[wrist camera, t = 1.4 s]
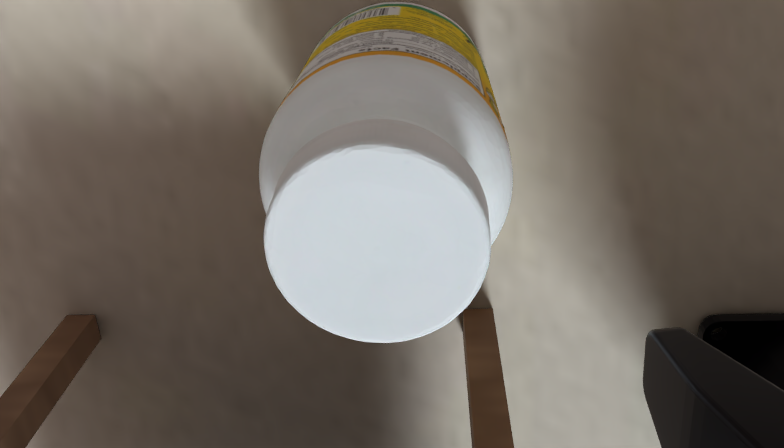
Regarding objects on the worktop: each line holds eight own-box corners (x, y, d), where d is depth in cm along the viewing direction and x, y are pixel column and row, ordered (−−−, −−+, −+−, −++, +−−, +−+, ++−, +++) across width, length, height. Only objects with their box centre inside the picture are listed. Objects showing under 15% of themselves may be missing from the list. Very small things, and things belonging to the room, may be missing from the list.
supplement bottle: (347, -34, 19) (284, 40, 11) (522, 47, 20) (594, 177, 12) (281, 137, 22) (185, 311, 13) (440, 204, 22) (449, 411, 14)
